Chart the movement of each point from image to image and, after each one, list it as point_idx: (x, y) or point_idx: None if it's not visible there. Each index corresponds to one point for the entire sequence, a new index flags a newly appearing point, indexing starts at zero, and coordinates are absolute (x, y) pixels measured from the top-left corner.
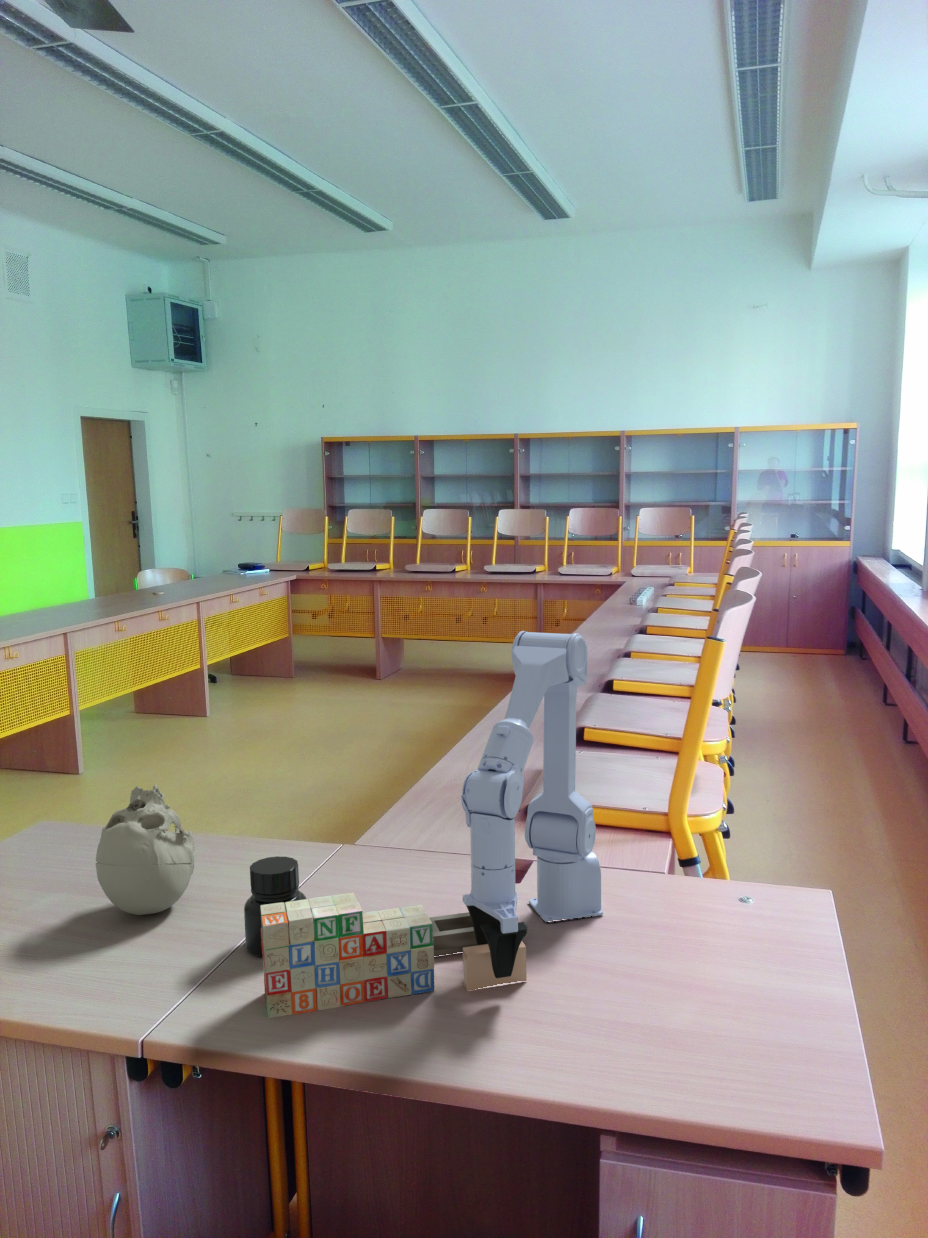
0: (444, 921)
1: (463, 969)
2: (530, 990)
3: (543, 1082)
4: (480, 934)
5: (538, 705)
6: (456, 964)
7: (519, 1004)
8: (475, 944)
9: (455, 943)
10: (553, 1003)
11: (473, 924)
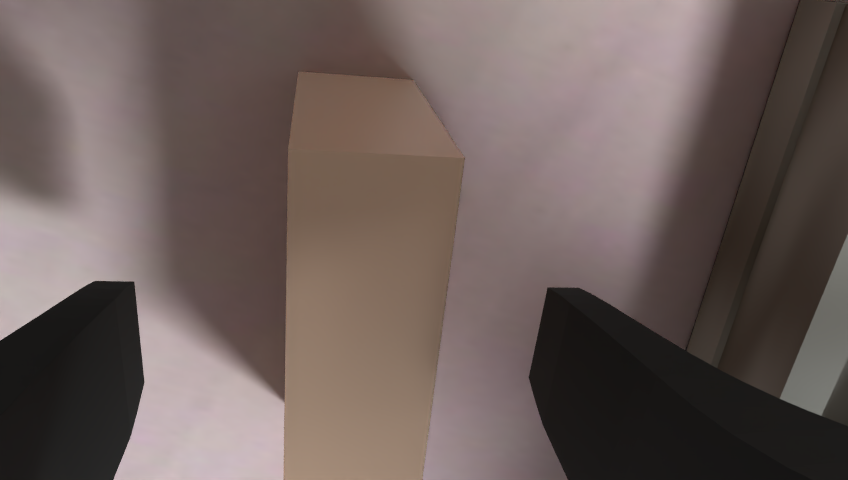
0: None
1: (416, 103)
2: (203, 404)
3: None
4: (600, 370)
5: None
6: (650, 114)
7: None
8: (745, 285)
9: (808, 172)
10: None
11: (688, 379)
